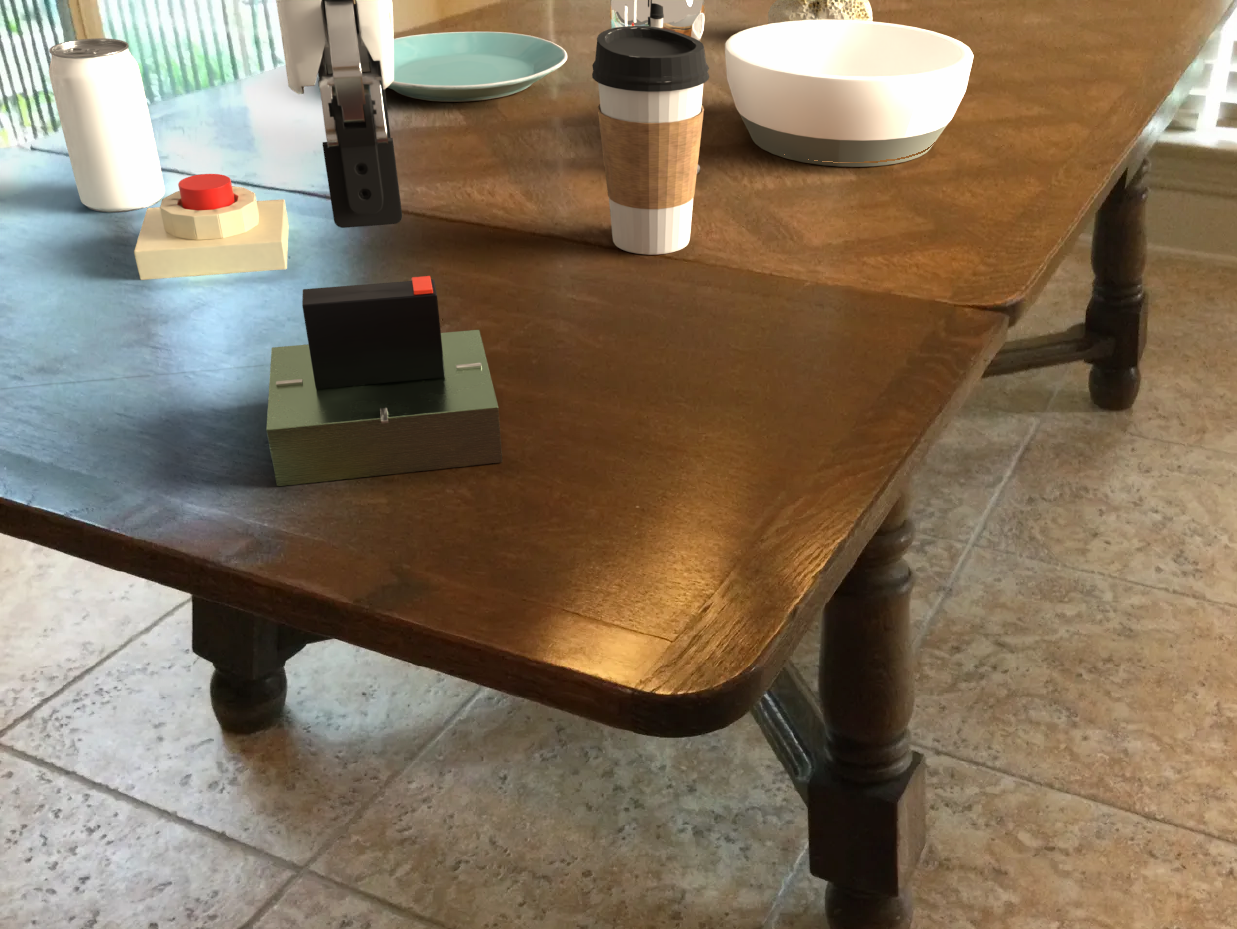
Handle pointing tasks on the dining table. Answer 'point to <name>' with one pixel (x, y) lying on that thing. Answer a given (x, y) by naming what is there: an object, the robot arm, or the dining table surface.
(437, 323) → the black rectangular case
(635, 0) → the wineglass
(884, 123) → the bowl
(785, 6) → the decorative item
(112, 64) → the can
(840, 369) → the dining table surface
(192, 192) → the release button
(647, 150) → the coffee cup
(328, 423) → the green lever base box
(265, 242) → the box
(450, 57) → the plate
